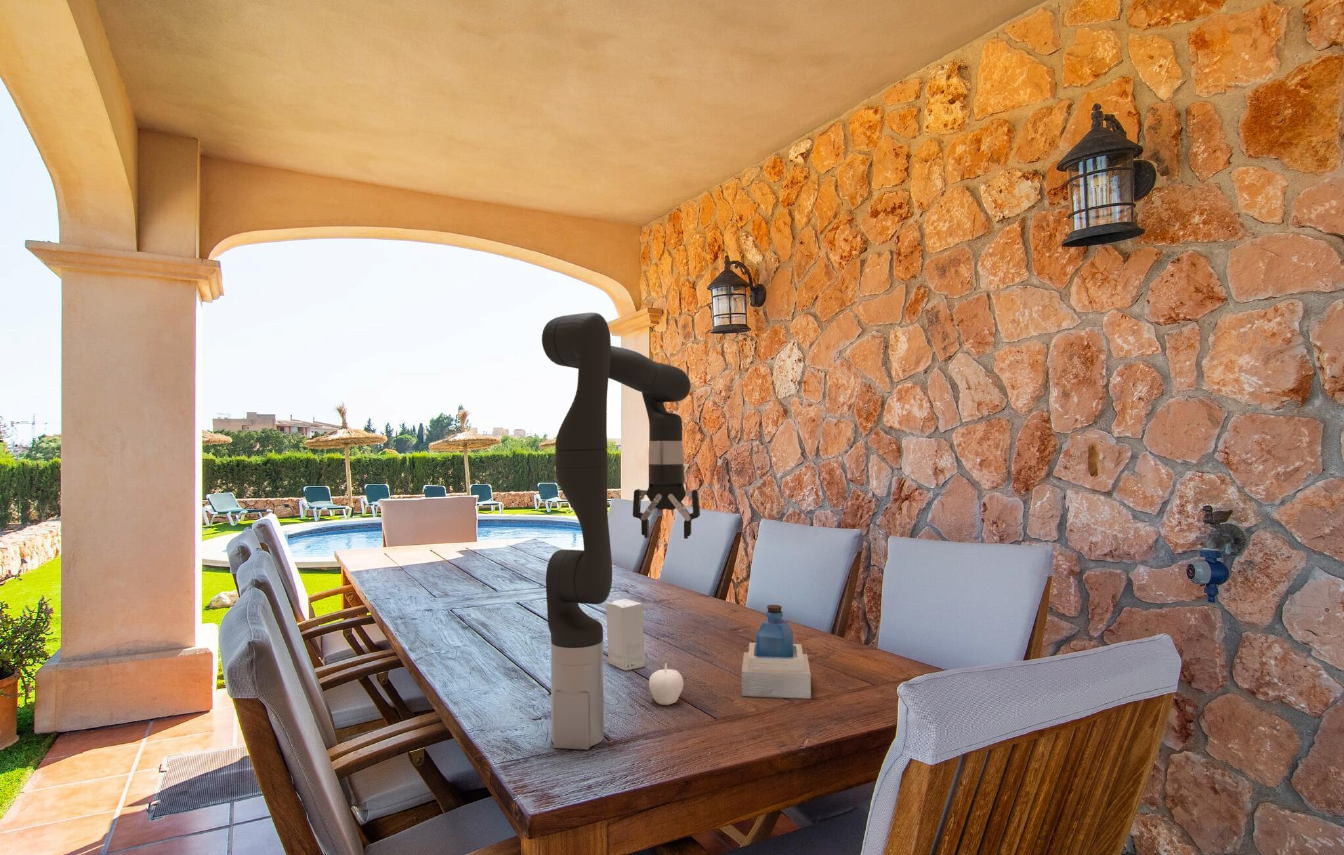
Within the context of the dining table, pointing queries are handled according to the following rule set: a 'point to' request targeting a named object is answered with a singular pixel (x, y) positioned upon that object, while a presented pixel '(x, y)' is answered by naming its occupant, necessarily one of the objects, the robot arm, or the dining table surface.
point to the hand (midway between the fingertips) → (666, 538)
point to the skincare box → (625, 634)
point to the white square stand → (776, 675)
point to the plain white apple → (666, 685)
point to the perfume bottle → (774, 635)
